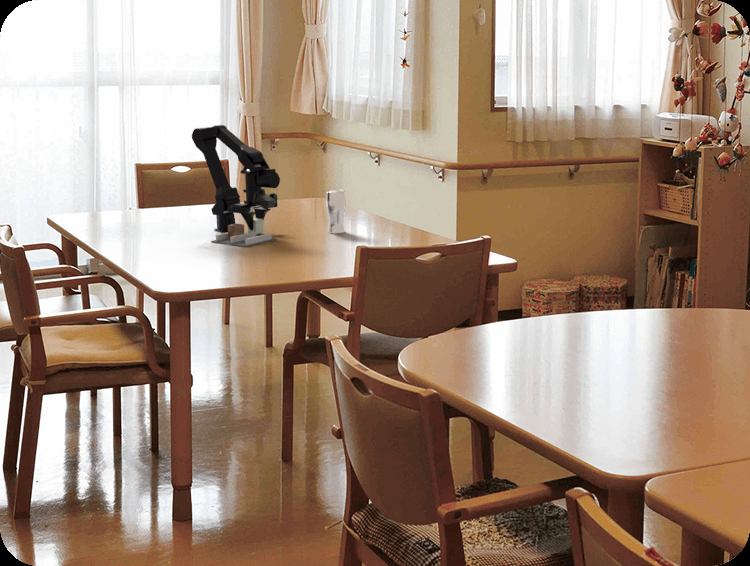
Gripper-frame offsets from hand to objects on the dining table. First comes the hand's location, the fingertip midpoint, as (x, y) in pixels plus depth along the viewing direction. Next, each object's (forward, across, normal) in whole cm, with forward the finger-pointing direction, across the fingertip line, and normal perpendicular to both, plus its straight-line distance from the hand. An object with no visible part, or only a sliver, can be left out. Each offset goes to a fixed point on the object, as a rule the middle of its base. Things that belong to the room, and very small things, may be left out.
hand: (255, 229), depth 344 cm
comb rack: (+2, -12, -6) cm, 13 cm away
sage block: (+1, 0, 0) cm, 1 cm away
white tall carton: (+2, +18, -23) cm, 29 cm away
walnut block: (+1, -12, -2) cm, 12 cm away
